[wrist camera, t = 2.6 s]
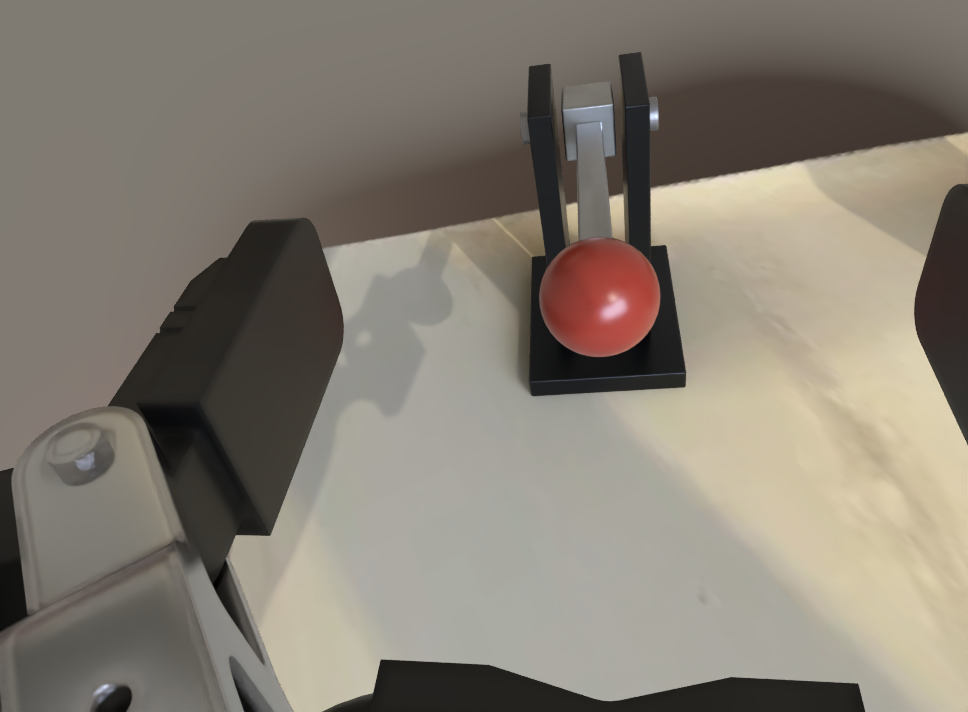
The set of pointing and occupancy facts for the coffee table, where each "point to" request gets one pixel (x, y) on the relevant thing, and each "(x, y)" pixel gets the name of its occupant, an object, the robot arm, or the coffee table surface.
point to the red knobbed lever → (596, 245)
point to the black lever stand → (661, 348)
